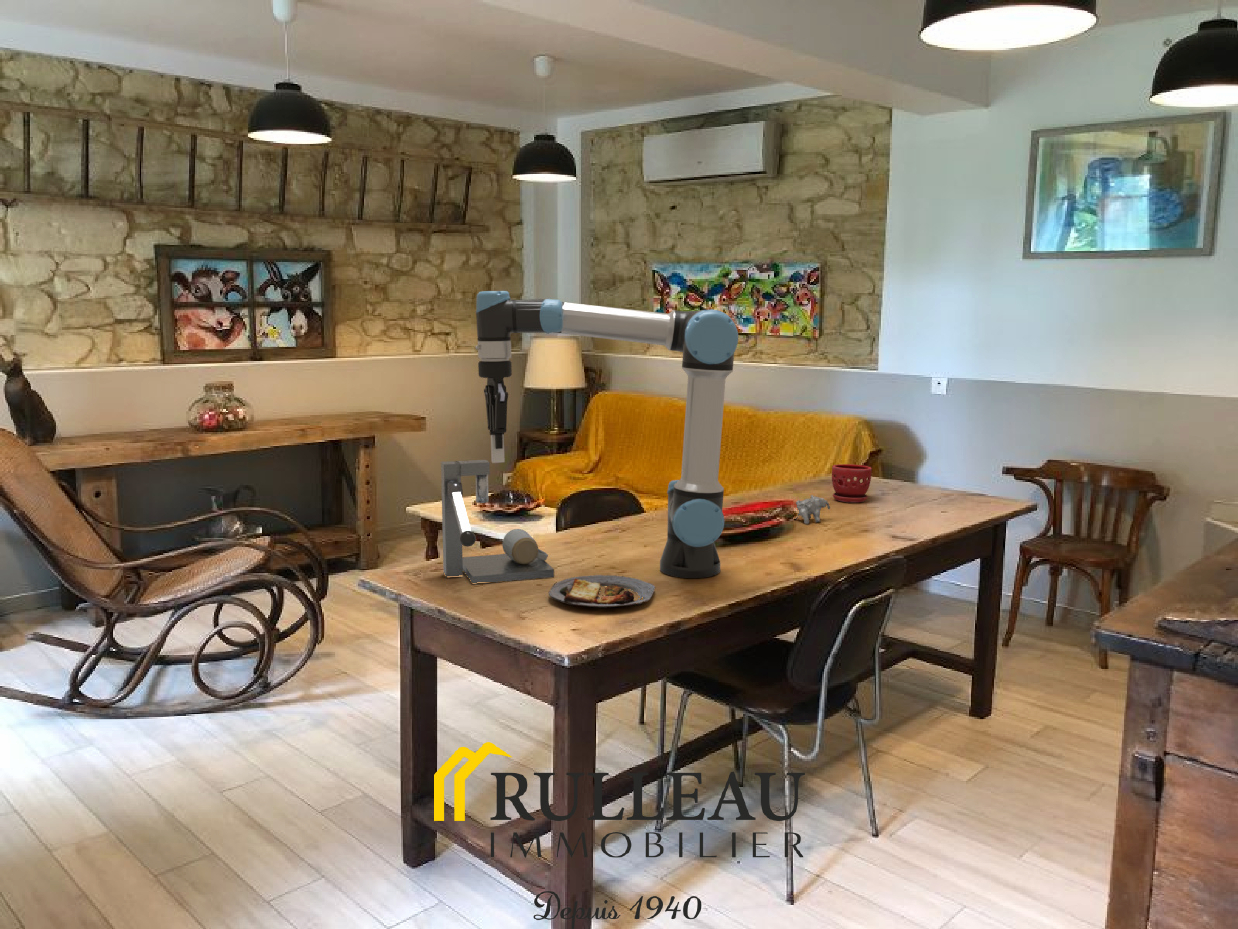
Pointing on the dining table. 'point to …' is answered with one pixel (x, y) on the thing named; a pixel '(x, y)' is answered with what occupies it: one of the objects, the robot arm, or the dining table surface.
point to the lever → (460, 513)
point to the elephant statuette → (811, 508)
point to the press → (453, 562)
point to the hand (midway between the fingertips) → (498, 462)
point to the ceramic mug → (522, 547)
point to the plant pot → (851, 482)
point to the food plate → (590, 586)
